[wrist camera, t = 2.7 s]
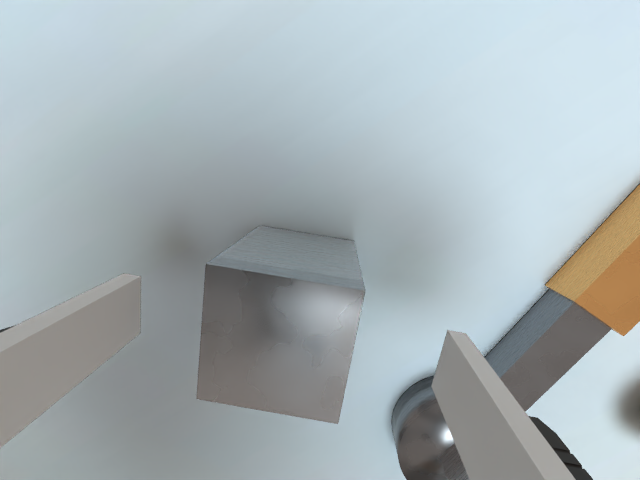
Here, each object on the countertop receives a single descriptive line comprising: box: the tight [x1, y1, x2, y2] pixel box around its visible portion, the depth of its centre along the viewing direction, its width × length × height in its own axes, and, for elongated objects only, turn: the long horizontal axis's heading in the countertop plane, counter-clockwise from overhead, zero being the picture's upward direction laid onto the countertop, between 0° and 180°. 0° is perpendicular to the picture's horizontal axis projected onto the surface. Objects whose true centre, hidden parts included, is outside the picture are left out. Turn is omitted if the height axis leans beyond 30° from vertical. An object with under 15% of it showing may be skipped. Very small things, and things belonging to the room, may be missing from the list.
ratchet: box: [392, 184, 640, 480], centre depth 17 cm, size 8×24×6 cm, turn 146°
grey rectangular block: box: [197, 226, 365, 424], centre depth 16 cm, size 6×6×8 cm
